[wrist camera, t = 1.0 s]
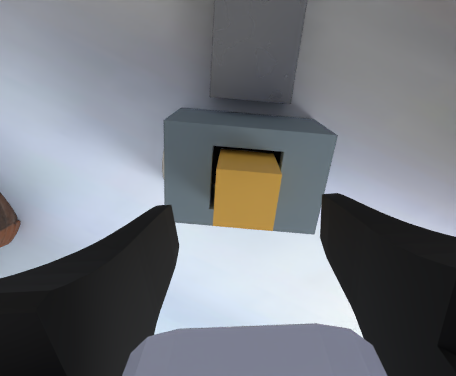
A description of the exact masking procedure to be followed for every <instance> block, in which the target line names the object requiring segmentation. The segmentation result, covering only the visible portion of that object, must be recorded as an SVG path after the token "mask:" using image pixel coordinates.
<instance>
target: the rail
mask: <svg viewBox="0 0 456 376" xmlns="http://www.w3.org/2000/svg"><path fill="white" fill-rule="evenodd" d="M306 6H307V0H215V4H214V23H213V43H212V62H211V81H210V97H216V98H227V99H239V100H250V101H262V102H273V103H285V104H291V98H292V92H293V86H294V80H295V74H296V67H297V61H298V55H299V49H300V43H301V37H302V30H303V24H304V18H305V12H306Z"/></svg>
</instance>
